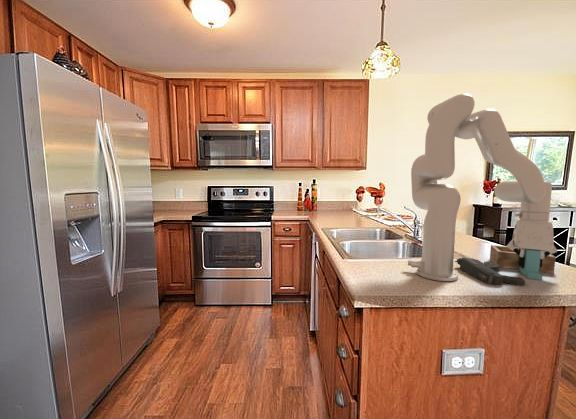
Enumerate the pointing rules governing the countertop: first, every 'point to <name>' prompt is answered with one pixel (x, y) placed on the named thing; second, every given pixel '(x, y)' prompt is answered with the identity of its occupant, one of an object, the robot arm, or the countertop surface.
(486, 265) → the toy gun
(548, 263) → the open wooden box
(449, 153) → the robot arm
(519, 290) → the countertop surface
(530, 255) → the teal upright block
